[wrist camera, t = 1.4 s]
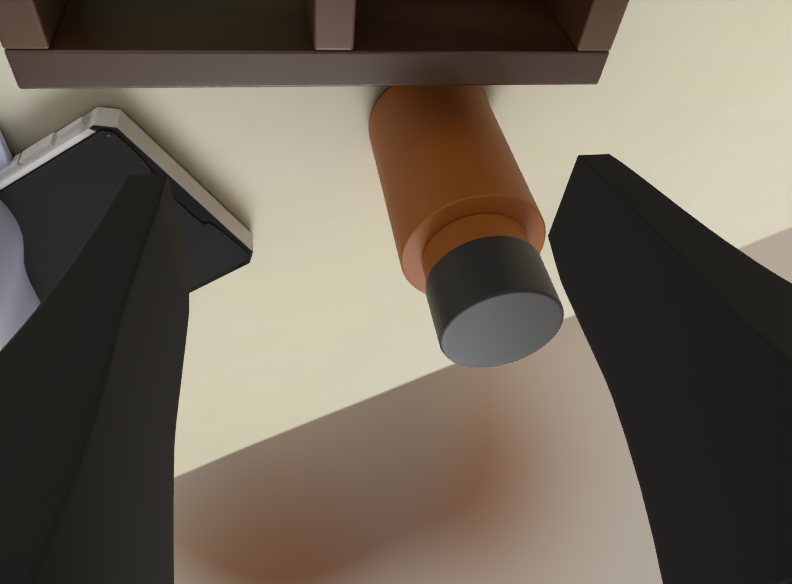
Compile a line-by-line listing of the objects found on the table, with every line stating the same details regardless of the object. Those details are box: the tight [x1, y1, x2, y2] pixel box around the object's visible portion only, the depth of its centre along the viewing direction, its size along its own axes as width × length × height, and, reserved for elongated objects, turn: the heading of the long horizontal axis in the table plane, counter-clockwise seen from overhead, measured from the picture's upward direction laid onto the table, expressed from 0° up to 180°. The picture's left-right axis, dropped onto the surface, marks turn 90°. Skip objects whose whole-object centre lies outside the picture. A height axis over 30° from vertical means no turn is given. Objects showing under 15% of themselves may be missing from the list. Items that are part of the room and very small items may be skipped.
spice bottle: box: [369, 85, 564, 367], centre depth 20 cm, size 4×4×10 cm
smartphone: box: [0, 107, 253, 302], centre depth 24 cm, size 8×1×15 cm
